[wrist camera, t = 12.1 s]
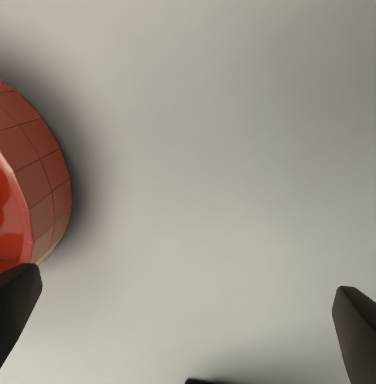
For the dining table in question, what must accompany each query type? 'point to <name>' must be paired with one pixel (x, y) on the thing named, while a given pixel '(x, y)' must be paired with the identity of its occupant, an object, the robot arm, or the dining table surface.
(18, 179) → the bowl
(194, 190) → the dining table surface
